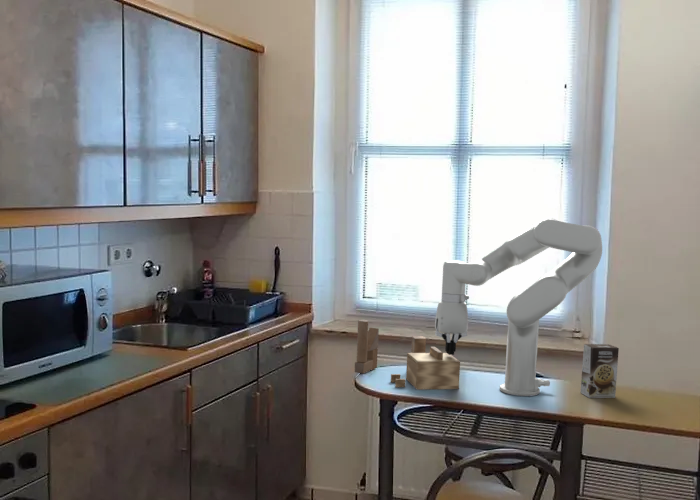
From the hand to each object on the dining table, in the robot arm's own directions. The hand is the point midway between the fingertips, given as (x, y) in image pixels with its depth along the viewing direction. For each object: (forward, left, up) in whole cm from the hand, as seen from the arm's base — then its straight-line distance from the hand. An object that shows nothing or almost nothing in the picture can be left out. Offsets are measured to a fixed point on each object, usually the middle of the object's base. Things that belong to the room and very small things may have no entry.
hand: (450, 353), depth 250 cm
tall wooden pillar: (+6, -17, -10) cm, 21 cm away
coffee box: (-44, +17, -10) cm, 48 cm away
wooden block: (+24, -19, -10) cm, 32 cm away
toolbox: (+9, 0, -10) cm, 13 cm away
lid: (+6, 0, -2) cm, 6 cm away
